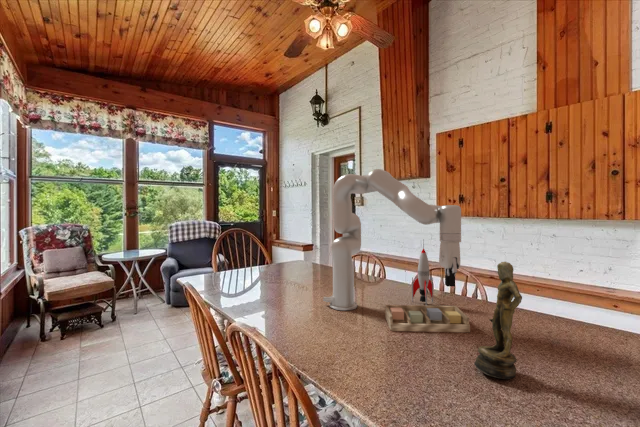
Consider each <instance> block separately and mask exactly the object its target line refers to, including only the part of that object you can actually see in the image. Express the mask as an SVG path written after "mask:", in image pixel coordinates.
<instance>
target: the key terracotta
mask: <svg viewBox="0 0 640 427" xmlns="http://www.w3.org/2000/svg"><path fill="white" fill-rule="evenodd" d="M390 312H391V314H392V319H404V311H403V309H402V308H390Z"/></svg>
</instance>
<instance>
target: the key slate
mask: <svg viewBox="0 0 640 427" xmlns="http://www.w3.org/2000/svg"><path fill="white" fill-rule="evenodd" d="M427 316H428V318H429V319H430V320H442V312H441V311H440V310H439V309H438V308H427Z"/></svg>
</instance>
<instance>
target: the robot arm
mask: <svg viewBox="0 0 640 427" xmlns="http://www.w3.org/2000/svg"><path fill="white" fill-rule="evenodd" d="M375 192H376V193H377V192H378V193H379V194H380V195H382V196H384V197H385V198H386V199H388V200H390V202H392V203H393V204H394V205H395V206H396V207H397V208H398V209H400V210H401V211H402V212H403V213H405V214H407V215H408V216H409V217H410V218H412V219H413V220H415V221H417V222H418V223H419V224H421V225H427V226H428V225H431V224H439V245H440V246H439V258H438V264H439V266H441V267H443V268H444V285H445V287H456V275H457V273H458V269H460V268H461V247H460V243H462V207H461V206H460V205H458V204H457V205H456V204H453V205H452V204H450V205H449V204H446V205H436V204H428V203H427V202H425V201H424V200H423V199H421V198H419V197H417V196H416V195H415V194H414V193H413V192H411V190H410V188H409V187H408V186H407V185H406V184H404V183H402V181H400V180H398V179H396V178H395V177H393V176H392V174H391V173H390V172H389V171H387V170H383V169H381V168H375V169H373V170H371V171H369V173H368V174H363V175H359V174H355V173H347V174H346V173H345V174H343V175H341V176H340V177H339V178H338V179H337V180H336V181H335V182H334V185H333V187H332V199H333V200H332V217H333V218H332V221H333V222H332V224H333V229H334V231H335V232H336V233H338V234H342V236H340V237H337V238H335V239H334V240H333V241H332V242H331V245H330V254H331V261H332V294H331V295H330V296H322V299H323V302H325V303H329V307H330V308H332V309H333V310H337V311H352V310H355V309H357V307H358V303H357V302H356V301H355V278H354V277H355V276H354V275H355V272H354V270H355V268H354V261H353V260H354V259H353V256H355V255H357V254H358V253H359V252H360V250H361V247H362V222H361V219H360V217H359V215H357V214H356V213H354V212H353V203H352V197H351V195H352V194H354V195H357V194H358V195H364V194H370V193H375Z"/></svg>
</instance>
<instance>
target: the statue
mask: <svg viewBox="0 0 640 427" xmlns="http://www.w3.org/2000/svg"><path fill="white" fill-rule="evenodd" d="M496 267H497V275H498V279H499V280H500V282H499V283H498V285H497V295H496V303H495V304H496V306H495V309H494V311H493V316H492V318H488V320H489V321H490V322H491V323H492V326H491V327H492V334H493V337H494V340H495V344H494V345H492V346H491V345H490V346H489V345H481V346H479V347H478V349H477V352H478V353H479V354H478V355H477V356H476V359H475V361H474V366H475V368H477V369H478V370H479V371H481V372H482V373H484V374H485V375H487V376H489V377H494V378H497V379H502V380H510V379H513V378H515V377H516V374H517V367H516V365H515V364H516V363H517V357H516V356H515V354H513V353H511V349H512V345H513V335H512V333H511V332H512V331H511V330H512V326H513V316H514V314H515V310H516V308H518V307H519V305H520V304H521V303H522V300H523V296H522V294H521V293H520V291H519V287H518V285H517V283H516V282H515V281H514V266H513V265H512V264H511V263H510V262H507V261H501V262H500V263H498V264H497V266H496Z"/></svg>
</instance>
